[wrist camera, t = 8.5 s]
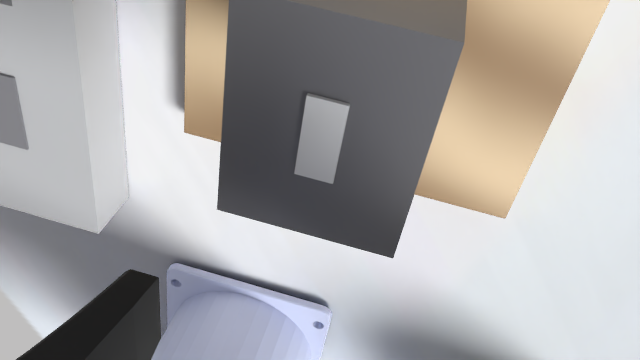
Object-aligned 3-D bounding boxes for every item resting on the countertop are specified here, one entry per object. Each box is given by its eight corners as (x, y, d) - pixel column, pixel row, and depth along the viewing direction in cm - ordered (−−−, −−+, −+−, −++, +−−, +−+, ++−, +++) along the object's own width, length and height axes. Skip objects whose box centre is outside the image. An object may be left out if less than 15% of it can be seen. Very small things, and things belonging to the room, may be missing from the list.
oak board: (504, 201, 21) (505, 218, 20) (195, 119, 22) (184, 132, 21) (683, -182, 13) (696, -180, 13) (205, -278, 14) (189, -281, 14)
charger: (422, 100, 18) (392, 261, 12) (301, 70, 18) (215, 212, 12) (471, -63, 15) (464, 44, 9) (325, -96, 15) (227, -12, 9)
